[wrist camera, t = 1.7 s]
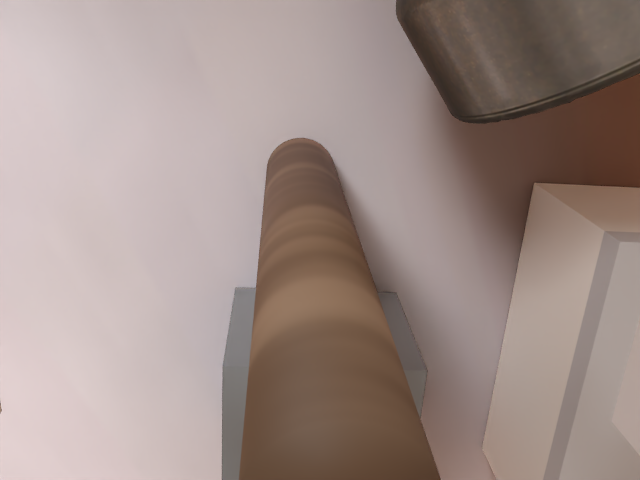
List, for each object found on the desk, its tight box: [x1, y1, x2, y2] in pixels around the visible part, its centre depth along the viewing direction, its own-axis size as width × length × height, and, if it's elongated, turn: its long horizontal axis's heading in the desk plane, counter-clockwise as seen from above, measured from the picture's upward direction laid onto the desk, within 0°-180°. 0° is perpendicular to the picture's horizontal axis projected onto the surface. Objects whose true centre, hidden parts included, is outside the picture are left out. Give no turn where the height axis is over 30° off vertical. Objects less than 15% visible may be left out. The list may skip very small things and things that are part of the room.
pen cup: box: [222, 288, 427, 480], centre depth 25 cm, size 7×7×6 cm
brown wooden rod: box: [239, 138, 440, 480], centre depth 17 cm, size 3×3×18 cm
